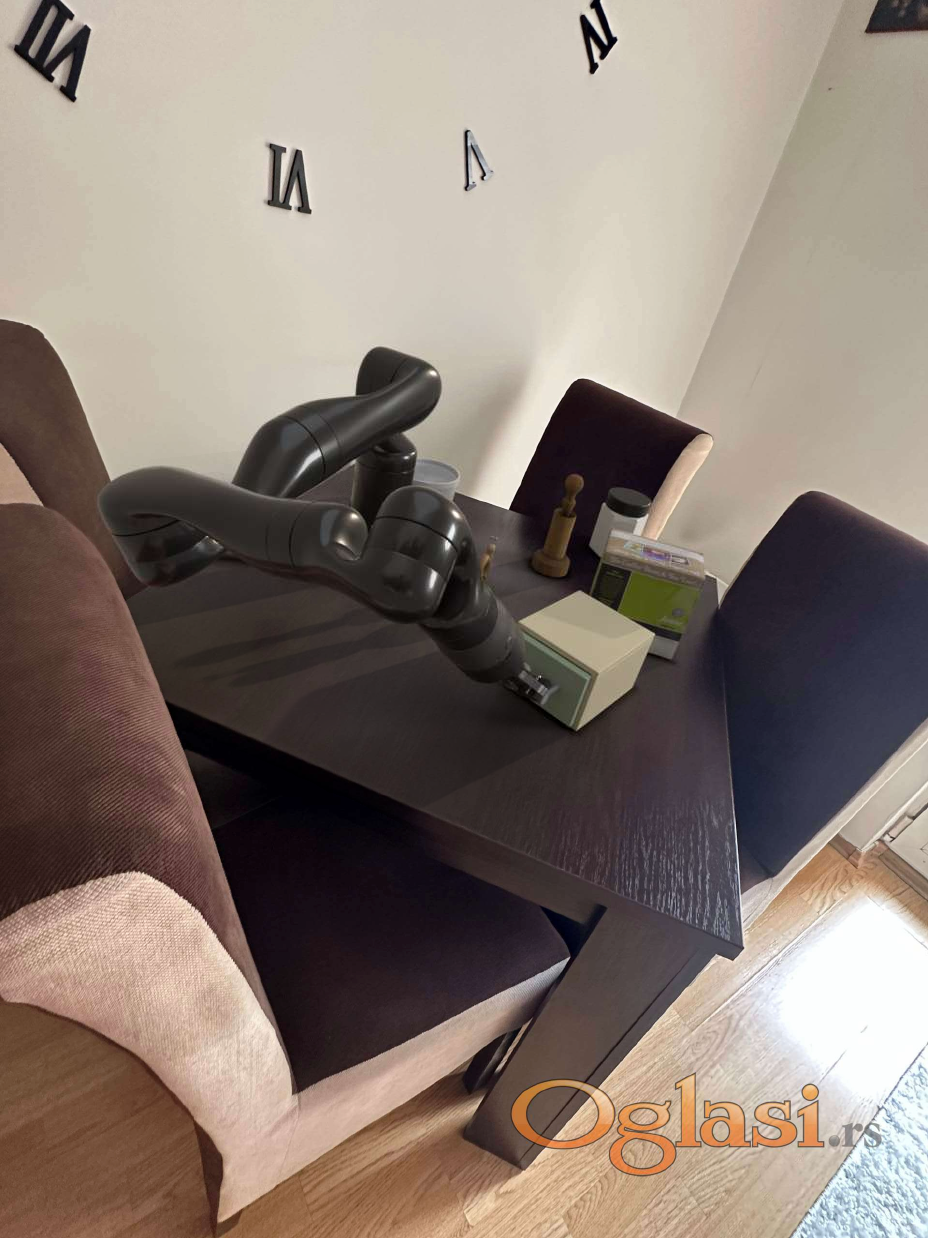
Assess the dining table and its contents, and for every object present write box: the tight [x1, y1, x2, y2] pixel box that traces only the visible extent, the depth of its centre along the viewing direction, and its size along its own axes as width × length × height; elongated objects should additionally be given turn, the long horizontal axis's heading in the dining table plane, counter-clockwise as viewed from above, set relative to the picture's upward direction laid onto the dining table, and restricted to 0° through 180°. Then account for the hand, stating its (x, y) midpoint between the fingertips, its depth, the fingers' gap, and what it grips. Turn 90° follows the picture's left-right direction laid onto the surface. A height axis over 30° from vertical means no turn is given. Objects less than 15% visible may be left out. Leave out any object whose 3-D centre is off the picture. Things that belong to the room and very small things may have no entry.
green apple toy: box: [478, 535, 499, 593], centre depth 98 cm, size 5×6×12 cm
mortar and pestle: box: [531, 473, 585, 578], centre depth 113 cm, size 7×6×18 cm
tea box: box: [588, 528, 707, 660], centre depth 101 cm, size 15×10×15 cm, turn 73°
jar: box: [588, 487, 652, 558], centre depth 126 cm, size 9×8×12 cm
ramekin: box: [413, 456, 461, 501], centre depth 130 cm, size 13×13×7 cm
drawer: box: [521, 630, 592, 728], centre depth 85 cm, size 18×11×8 cm, turn 137°
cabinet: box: [517, 590, 655, 732], centre depth 88 cm, size 15×13×10 cm
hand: (522, 686), depth 79 cm, fingers closed
